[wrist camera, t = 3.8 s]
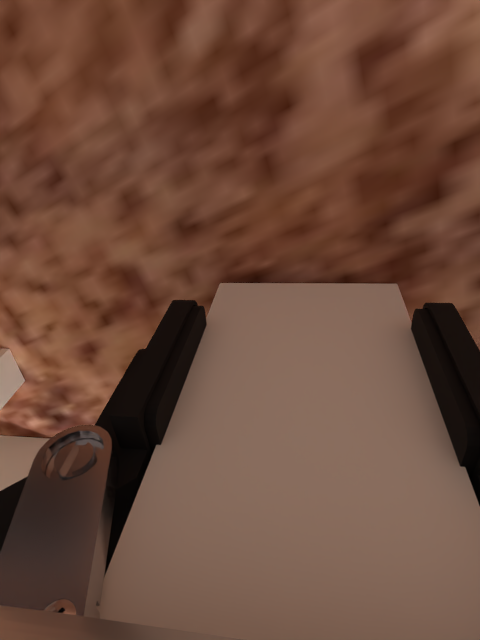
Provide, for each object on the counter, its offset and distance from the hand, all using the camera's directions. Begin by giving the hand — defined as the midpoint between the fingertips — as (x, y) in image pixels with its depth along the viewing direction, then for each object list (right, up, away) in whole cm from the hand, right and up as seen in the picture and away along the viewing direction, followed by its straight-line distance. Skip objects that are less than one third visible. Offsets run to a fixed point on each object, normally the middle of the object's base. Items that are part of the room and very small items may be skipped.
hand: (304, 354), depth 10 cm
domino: (0, +1, +2) cm, 2 cm away
